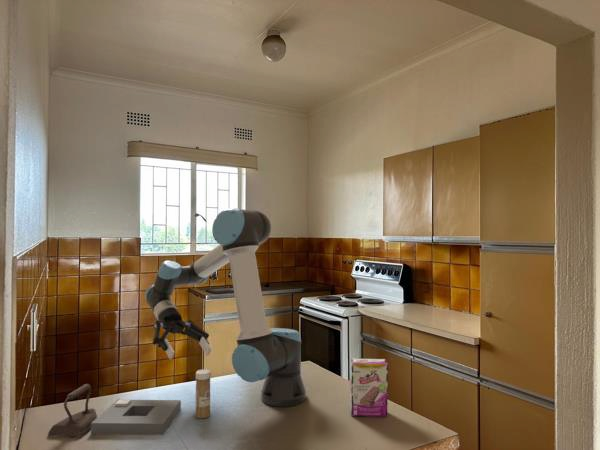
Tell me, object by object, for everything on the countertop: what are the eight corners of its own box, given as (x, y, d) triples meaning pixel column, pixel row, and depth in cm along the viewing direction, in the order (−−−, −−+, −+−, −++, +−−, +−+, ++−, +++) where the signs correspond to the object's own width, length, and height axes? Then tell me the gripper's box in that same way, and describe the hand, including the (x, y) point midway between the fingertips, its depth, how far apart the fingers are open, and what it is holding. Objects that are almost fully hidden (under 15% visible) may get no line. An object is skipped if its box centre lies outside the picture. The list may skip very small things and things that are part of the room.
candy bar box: (351, 417, 122) (351, 362, 123) (349, 410, 127) (349, 357, 127) (388, 417, 122) (388, 363, 122) (385, 410, 127) (385, 358, 127)
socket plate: (180, 409, 127) (180, 397, 127) (163, 434, 111) (163, 420, 111) (117, 409, 127) (117, 397, 127) (90, 434, 111) (91, 420, 111)
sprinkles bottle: (205, 419, 120) (206, 374, 120) (192, 417, 121) (192, 372, 122) (213, 413, 124) (213, 369, 125) (200, 411, 126) (200, 368, 126)
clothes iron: (80, 438, 109) (81, 397, 109) (47, 437, 110) (48, 396, 110) (109, 416, 122) (110, 379, 123) (79, 414, 123) (80, 378, 124)
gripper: (194, 322, 155) (219, 359, 141) (130, 325, 138) (151, 367, 123) (201, 306, 153) (227, 342, 139) (137, 306, 136) (159, 347, 122)
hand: (191, 354), depth 131 cm, fingers open, 13 cm apart
